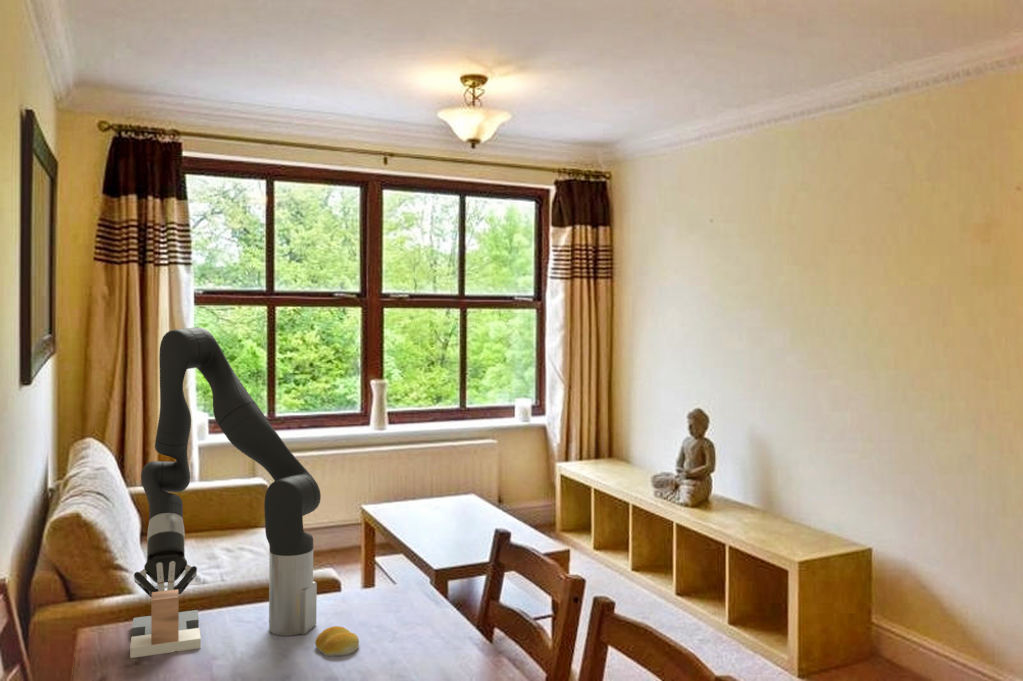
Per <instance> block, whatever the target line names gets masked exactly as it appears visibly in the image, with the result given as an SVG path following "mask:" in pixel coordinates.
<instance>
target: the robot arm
mask: <svg viewBox="0 0 1023 681" xmlns="http://www.w3.org/2000/svg"><path fill="white" fill-rule="evenodd" d="M158 356H159V360H158V361H159V362H158V363H159V398H160V399H159V416H158V423H157V429H156V430H157V431H156V436H155V440H154V441H155V442H154V449H155V451H156V452H157V453H158V454H160V455H162V456H165V457H170V458H172V459H174V460H175V461H160V460H158V461H157V460H153V461H149V462H147V463H146V464H145V465H144V466H143V467H142V470H141V472H140V473H141V474H140V478H141V479H140V480H141V481H140V482H141V485H142V488H143V491H144V493H145V497H146V500H147V504H148V528H147V534H146V535H147V537H146V541H147V546H146V562H145V564H144V568H143V569H141V571H135V572H134V574H133V578H134V579H133V580H134V582H135V584H137V585H138V586H139V587H140V588H141V590H142V591H143V592H145V593H146V595H148V596H149V597H150V598H152V592H160V591H168V590H177V589H178V595H181V594H183V592H184V591H185V590H186V589H187V588H188V586H189V585H190V583H191V582H192V581H193V580H194V579H195V577H196V576H197V572H198V567H197V566H196V565H193V566H191V565H190V564H188V561H187V559H186V558H185V555H186V554H185V552H186V551H185V549H186V548H185V536H186V535H185V525H184V516H183V514H184V512H183V511H184V507H183V506H184V505H183V500H182V498H181V497H180V496H179V495H178V494H175V493H181V492H184V491H185V490H186V489H187V488H188V487H189V486H190V482H191V470H190V466H189V460H188V458H189V457H188V449H189V448H188V445H189V438H190V433H191V429H192V428H191V427H192V417H191V411H190V407H189V405H188V403H187V400H186V398H185V394H184V393H185V392H184V380H185V376H186V373H187V370H190V369H197V370H198V371H199V373H201V374H202V376H203V377H204V378H205V380H206V381H207V383H208V385H209V386H210V390H211V394H212V395H211V396H212V410H213V415H214V419H215V422H216V423H217V425H218V427H219V428H220V429H221V431H222V432H223V434H224V435H225V437H226V438H227V440H228V441H229V443H231V444H232V446H234V447H235V448H236V449H237V450H239V451H240V452H241V453H242V454H243V455H245V456H247V457H248V458H250V459H251V460H252V461H254V462H255V463H257V464H259V465H260V466H261V467H262V468H264V470H266V471H267V473H268V474H269V475H270V476H271V479H273V482H271V483H270V484H269V485H268V487H267V489H266V491H265V495H264V502H263V503H264V504H263V505H264V523H265V524H264V530H265V538H266V540H267V542H268V546H269V557H268V558H269V565H268V566H269V567H268V568H269V573H268V576H269V578H268V579H269V580H268V581H269V582H268V587H269V588H268V589H269V590H268V591H269V592H268V600H269V601H268V610H269V611H268V614H269V615H268V616H269V617H268V631H269V632H270V633H272V634H273V635H276V636H297V635H306V634H307V633H309V631H310V630H312V629H313V628H314V627H315V625H317V594H318V592H317V589H318V587H317V585H318V584H317V581H314V537H313V535H312V534H310V533H309V532H305V531H304V520H303V519H304V518H303V516H306V515H308V514H311V513H312V512H314V511H315V510H316V509H317V508H318V507H319V505H320V504H321V496H322V495H321V490H320V487H319V484H318V483H317V482H316V480H315V477H314V476H312V474H311V473H310V472H309V471H308V469H307V468H305V466H303V464H302V463H301V462H300V460H299V459H297V458H296V457H295V456H294V454H293V453H292V452H291V450H290V449H289V448H288V447H287V445H286V444H285V442H284V441H283V440H282V438H281V437H280V435H279V434H278V432H277V431H276V430H275V428H274V427H273V426H272V424H271V423H270V421H269V419H267V417H266V415H265V414H264V412H263V411H262V410H261V408H260V406H258V404H257V403H256V401H255V400H254V399H253V397H252V396H251V395H250V394H249V392H248V391H247V389H246V388H245V386H244V385H243V383H242V382H241V380H240V379H239V377H238V376H237V374H236V373H235V371H234V369H233V368H232V367H231V364H230V363H229V361H228V359H227V357H226V355H225V353H224V351H223V350H222V347H221V346H220V345H219V343H218V341H217V340H216V338H215V337H214V336H213V334H212V333H211V332H210V331H208V329H206V328H202V327H186V328H178V329H170V330H169V331H167V332H166V333H165V334H164V335H163V336H162V338H161V342H160V345H159V355H158ZM183 573H184V575H183V577H182V578H181V579H180V581H179V582H178V583H177V585H175V582H176V581H177V580H179V578H180V577H181V575H182V574H183ZM148 576H149V578H150V580H152V581H153V582H154V583H156V584H157V587H155V586H154V585H153V584H152V583H151V582H150V581H149V580H148ZM165 583H167V587H166V590H165Z"/></svg>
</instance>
